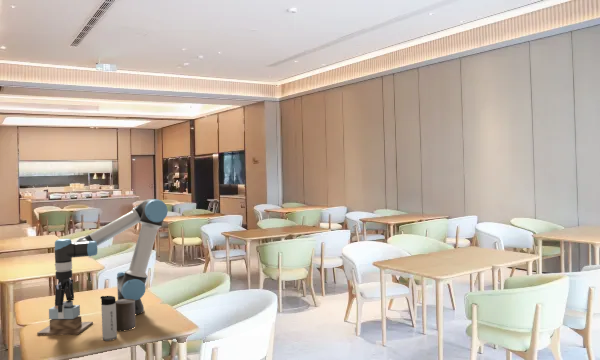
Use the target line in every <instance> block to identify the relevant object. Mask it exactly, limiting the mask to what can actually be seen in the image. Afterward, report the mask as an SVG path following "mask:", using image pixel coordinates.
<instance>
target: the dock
mask: <svg viewBox="0 0 600 360" xmlns="http://www.w3.org/2000/svg"><path fill="white" fill-rule="evenodd" d="M93 324H94V322H93V321H82V316H81V315H79V316H77V317H76V318H74V319H49V325H48V326H46V327H44V328H43V329H41V330H40V331H38V332H37V334H36V335H37V336H58V335H59V336H66V335H67V336H68V335H73V334H77V335H80V334H81V333H83V332H84V331H85V330H87V329H89V327H91V326H93Z"/></svg>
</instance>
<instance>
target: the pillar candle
mask: <svg viewBox="0 0 600 360" xmlns="http://www.w3.org/2000/svg"><path fill="white" fill-rule="evenodd" d="M115 301H116V324H117V332H125V331H124V330H129V329H132V328H134V327H135V328H136V315H135V300H134V299H121V300H118V299H117V300H115ZM135 328H134V329H135ZM132 330H133V329H132ZM129 331H130V330H129Z"/></svg>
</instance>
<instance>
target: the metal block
mask: <svg viewBox="0 0 600 360" xmlns="http://www.w3.org/2000/svg"><path fill="white" fill-rule="evenodd" d="M63 305H64V308H73V305H74V300H72V301H68V300H65V302H63Z"/></svg>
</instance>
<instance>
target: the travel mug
mask: <svg viewBox="0 0 600 360" xmlns="http://www.w3.org/2000/svg"><path fill="white" fill-rule="evenodd" d="M100 299H101V303H100V304H101V327H102V328H101V330H102V331H101V332H102V341H104V340H105V342H110V341H109V340H111V341H114V340H113V339H115V340H116V339H117V338H118V333H117V332H118V331H117V324H116V301H117V300H116V297H115V296H113V295H102V296H100Z"/></svg>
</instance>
